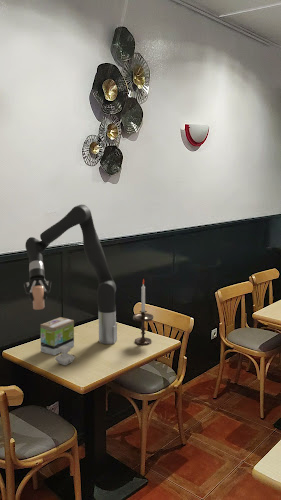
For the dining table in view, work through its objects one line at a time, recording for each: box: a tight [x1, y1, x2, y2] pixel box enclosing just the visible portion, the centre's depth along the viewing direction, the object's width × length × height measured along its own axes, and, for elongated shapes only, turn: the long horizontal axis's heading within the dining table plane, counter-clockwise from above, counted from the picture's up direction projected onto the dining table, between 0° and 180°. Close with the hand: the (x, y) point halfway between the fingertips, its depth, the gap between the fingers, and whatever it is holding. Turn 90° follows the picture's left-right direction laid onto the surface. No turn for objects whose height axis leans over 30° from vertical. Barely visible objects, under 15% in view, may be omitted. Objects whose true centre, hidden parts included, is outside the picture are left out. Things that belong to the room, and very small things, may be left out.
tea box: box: [40, 316, 75, 357], centre depth 238 cm, size 15×10×15 cm, turn 148°
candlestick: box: [132, 278, 154, 346], centre depth 246 cm, size 11×11×35 cm
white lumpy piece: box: [54, 345, 75, 366], centre depth 221 cm, size 9×7×8 cm
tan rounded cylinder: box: [32, 285, 46, 311], centre depth 232 cm, size 6×6×11 cm
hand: (38, 299), depth 230 cm, fingers closed on tan rounded cylinder, 5 cm apart
